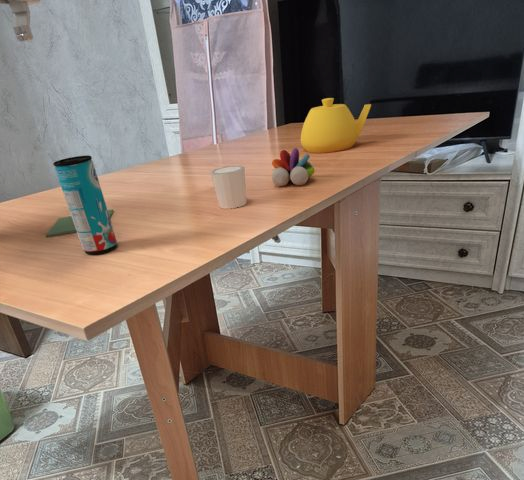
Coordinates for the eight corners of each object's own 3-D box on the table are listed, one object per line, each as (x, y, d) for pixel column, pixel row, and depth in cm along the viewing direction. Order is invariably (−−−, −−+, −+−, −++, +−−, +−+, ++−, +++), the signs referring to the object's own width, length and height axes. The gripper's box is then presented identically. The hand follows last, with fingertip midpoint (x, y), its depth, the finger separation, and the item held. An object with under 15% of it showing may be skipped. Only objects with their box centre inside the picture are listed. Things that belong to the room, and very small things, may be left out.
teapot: (298, 156, 131) (294, 105, 124) (305, 143, 146) (302, 98, 139) (371, 149, 126) (371, 96, 120) (370, 137, 142) (370, 89, 135)
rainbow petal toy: (279, 178, 111) (276, 146, 107) (319, 177, 107) (317, 143, 103) (267, 188, 104) (263, 154, 100) (309, 186, 101) (307, 151, 97)
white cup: (240, 197, 100) (235, 163, 96) (255, 203, 95) (250, 167, 91) (211, 205, 98) (205, 170, 94) (224, 212, 92) (218, 175, 89)
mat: (46, 237, 93) (45, 234, 93) (59, 220, 103) (58, 218, 103) (106, 227, 94) (105, 224, 94) (113, 211, 104) (112, 209, 104)
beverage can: (117, 251, 80) (89, 159, 72) (82, 258, 79) (49, 165, 71) (119, 241, 85) (93, 153, 77) (86, 247, 84) (56, 159, 76)
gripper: (-8, -70, 67) (29, 43, 75) (-130, -105, 51) (-66, 45, 58) (29, -79, 66) (64, 37, 74) (-82, -119, 49) (-23, 37, 57)
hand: (6, 41), depth 66 cm, fingers open, 8 cm apart
